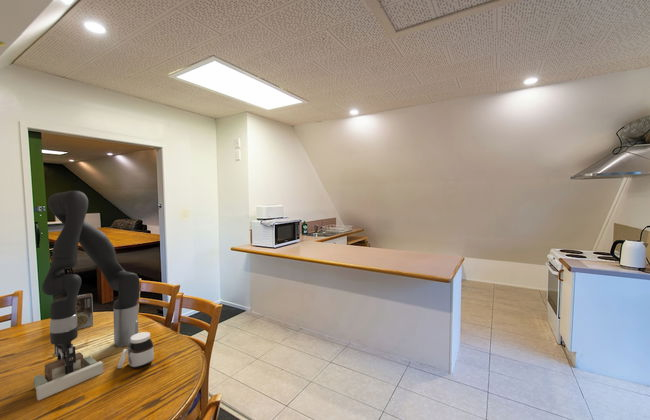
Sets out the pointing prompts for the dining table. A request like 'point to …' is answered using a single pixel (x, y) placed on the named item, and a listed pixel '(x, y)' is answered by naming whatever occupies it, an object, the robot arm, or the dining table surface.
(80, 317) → the coffee box
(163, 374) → the dining table surface
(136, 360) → the spread jar
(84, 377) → the ledge
